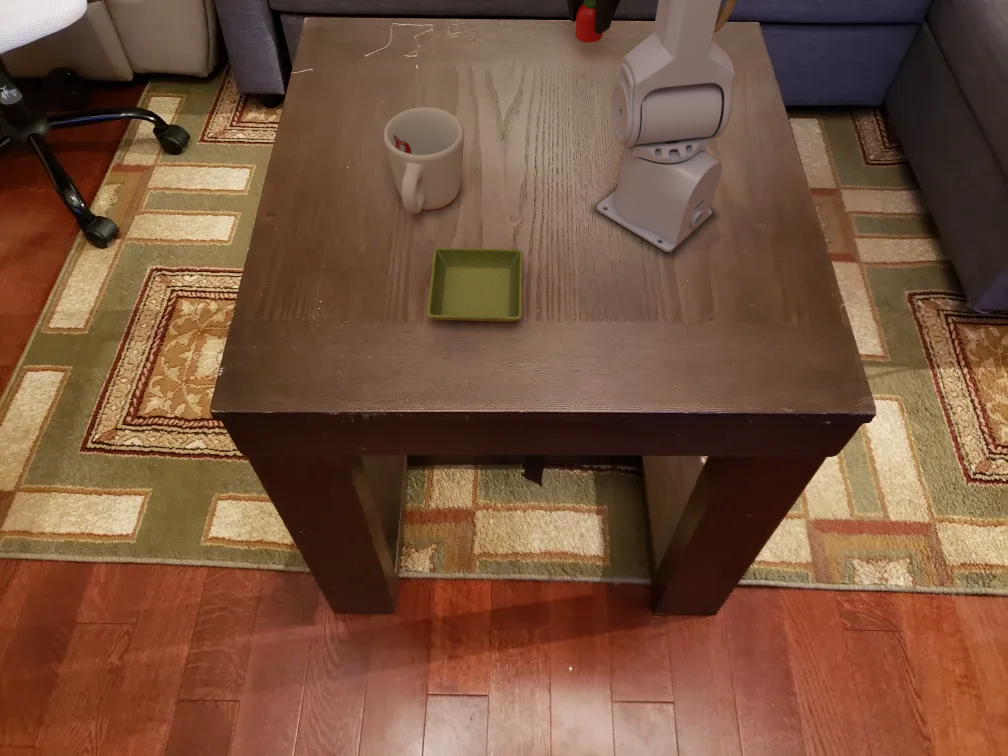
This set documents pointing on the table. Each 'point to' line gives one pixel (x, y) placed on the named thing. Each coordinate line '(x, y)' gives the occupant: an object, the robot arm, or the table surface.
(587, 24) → the strawberry
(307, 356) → the table surface
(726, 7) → the snail figurine
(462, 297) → the green square tray
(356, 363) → the table surface
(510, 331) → the table surface
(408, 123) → the cup
